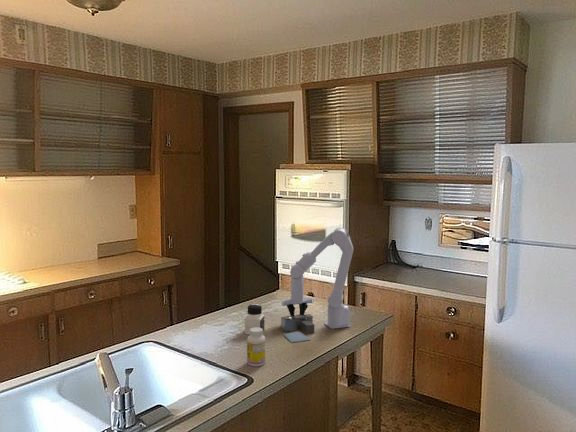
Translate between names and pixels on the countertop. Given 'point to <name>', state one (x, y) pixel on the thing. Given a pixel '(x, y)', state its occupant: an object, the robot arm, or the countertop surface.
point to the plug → (305, 325)
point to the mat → (296, 337)
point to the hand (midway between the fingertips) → (296, 319)
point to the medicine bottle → (254, 318)
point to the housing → (293, 321)
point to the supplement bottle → (256, 347)
